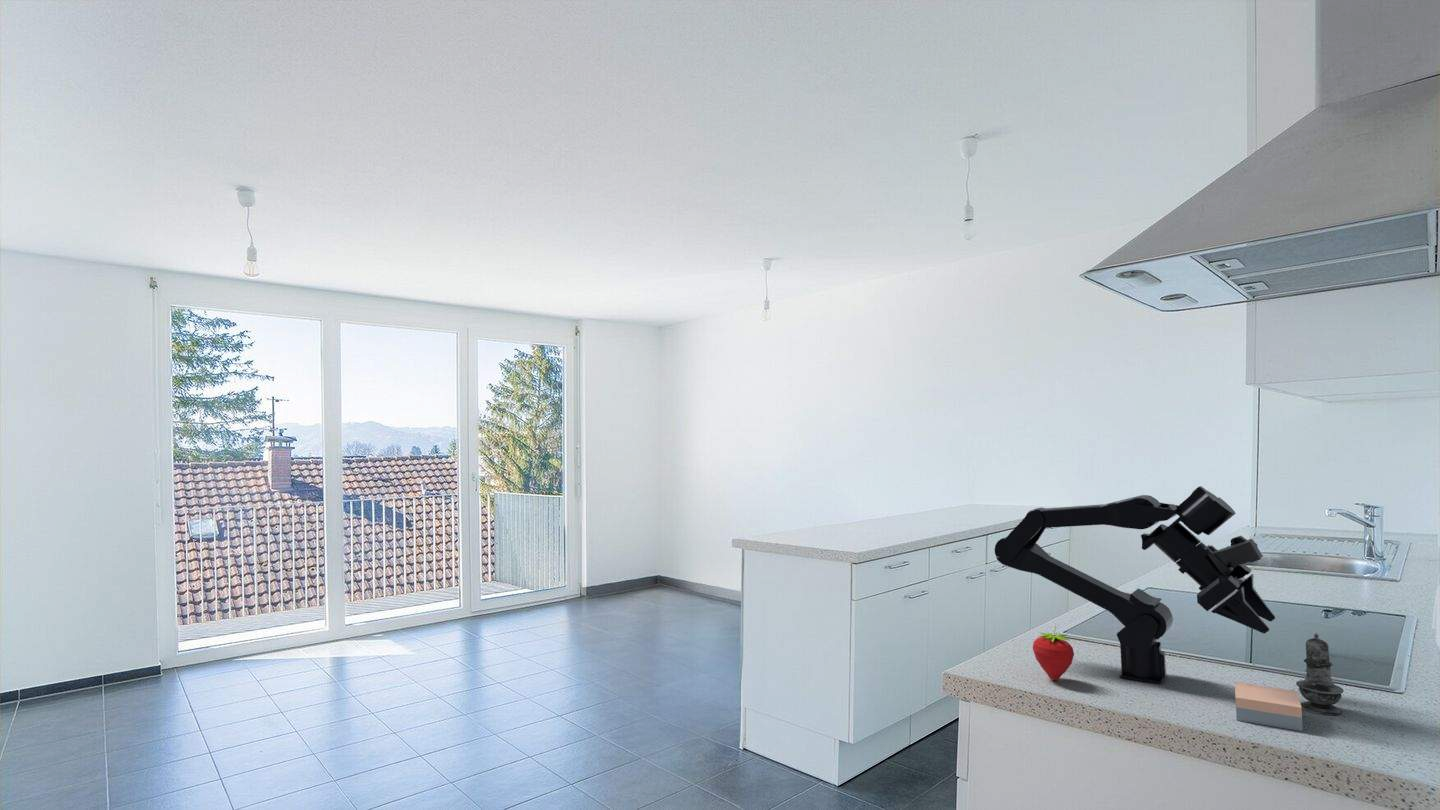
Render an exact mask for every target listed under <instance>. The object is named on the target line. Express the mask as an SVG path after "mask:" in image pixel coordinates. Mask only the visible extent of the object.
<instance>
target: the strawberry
mask: <svg viewBox="0 0 1440 810" xmlns="http://www.w3.org/2000/svg"><path fill="white" fill-rule="evenodd" d="M1056 629H1057V625H1055V627H1054V630H1053V631H1054V632H1053V633H1050V632H1047V633H1046V632H1039V634H1040V636H1038V637H1037V638H1036V639H1035V640H1033V644H1032V651H1033V655H1034V657H1035V660H1036V661H1037V662H1038V663H1039V665H1040V667H1041V668H1042V669H1043V671H1044V672H1045V674H1046V675H1047V676H1048V678H1049V679H1050V680H1051V679H1053V680H1056V681H1058V680H1059V679H1060V678H1061V677H1062V676H1063V675H1064V674H1065V673H1066V672H1067V670H1068V669H1069V668H1070V666H1071V665H1072V664H1073V659H1074V656H1075V652H1074V649H1073V646H1072V645H1071V644H1070V642H1068V641H1070V639H1069V638H1067V637H1066V636H1068V634H1062V633H1057V634H1056ZM1053 680H1052V681H1053Z"/></svg>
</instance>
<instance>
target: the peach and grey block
mask: <svg viewBox="0 0 1440 810" xmlns="http://www.w3.org/2000/svg"><path fill="white" fill-rule="evenodd" d="M1234 689H1235V691H1234V692H1235V694H1234V695H1235V697H1234V698H1235V713H1236V721H1240V722H1245V723H1250V724H1256V725H1262V726H1268V727H1273V728H1274V727H1275V728H1280V729H1286V730H1292V731H1298V732H1304V726H1303V724H1304V723H1303V711H1302V710H1303V709H1302V707H1301V703H1302V702H1301V700H1300V695H1299V692H1298V691H1299V690H1293V689H1285V688H1279V687H1273V686H1265V685H1264V686H1263V685H1259V684H1250V683H1246V682H1245V683H1244V682H1237V681H1236V682H1234Z"/></svg>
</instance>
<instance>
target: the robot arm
mask: <svg viewBox="0 0 1440 810" xmlns="http://www.w3.org/2000/svg"><path fill="white" fill-rule="evenodd" d="M1234 515H1236V512H1235V510H1234V509H1233V508H1232V507H1231V506H1230V505H1229V504H1228V503H1227V502H1226V501H1225V500H1223V498H1221V497H1218V496H1216V495H1215V494H1214V493H1212V492H1211V491H1210V490H1207V489H1206V488H1204V486H1201V485H1200V486H1198V487H1196V488H1195V489H1193V491H1192V492H1191V494H1190V495H1189V496H1188V497H1186V498H1185V499H1184V500H1183V501H1182V502H1181V503H1180V504H1174V503H1165V502H1160V501H1159V500H1158V499H1156V498H1155V497H1154V496H1152V495H1149V494H1148V495H1147V494H1141V495H1137V496H1134V497H1133V496H1132V497H1128V498H1124V499H1120V500H1117V501H1112V502H1109V503H1105V504H1089V505H1077V506H1076V505H1075V506H1073V505H1072V506H1063V507H1061V506H1060V507H1048V508H1047V507H1046V508H1045V507H1037V508H1034V509H1031V510H1029V511H1028V512H1027V513H1026V515H1025V516H1024V517H1023V519H1022V520H1021V521H1019V524H1017V525H1016V526H1015V527H1014V528H1013V529H1012V530H1011V531H1010V532H1009V534H1008V535H1007V536H1006V537H1003V538H1000V539H999V540H997V542H996V543H995V545H994V555H995V557H996V560H997V561H998V562H999V563H1000V564H1001V565H1003V566H1005V567H1008V568H1012V569H1015V570H1018V571H1022V572H1025V573H1030V574H1035V575H1038V576H1041V577H1042V578H1044V579H1046V580H1048V581H1050V582H1051V583H1054V584H1056V585H1057V586H1059V587H1061V588H1064V589H1065V590H1067V591H1069V592H1070V593H1073V594H1074V595H1077V596H1079V597H1081V598H1082V599H1085V600H1086V601H1089V602H1091V603H1092V604H1094V605H1096V606H1097V607H1100V608H1102V609H1104V610H1106V612H1107V611H1108V612H1109V613H1110V614H1112V615H1113V616H1114V617H1115V618H1116V619H1117V621H1119V622H1120V624H1122V625H1123V626H1124V627H1123V628H1121V629H1120V630H1119V631H1118V632H1117V633H1116V637H1117V639H1118V642H1119V644H1120V646H1119V647H1120V666H1121V667H1120V668H1121V671H1120V673H1119V678H1121V679H1126V680H1134V681H1140V682H1146V683H1153V684H1162V683H1163V679H1165V678H1166V675H1167V667H1166V666H1167V664H1166V663H1167V662H1166V652H1165V651H1164V650H1162V642H1161V641H1160V642H1159V641H1158V640H1159V639H1161V638H1162V637H1163V636H1164V635H1165V634H1166V633H1167V632H1168V631H1169V629H1170V628H1171V627H1172V625H1173V622H1174V618H1173V617H1174V616H1173V614H1172V612H1171V610H1170V607H1168V606H1167V605H1166V604H1164V603H1162V602H1161V601H1162V598H1161V597H1160V598H1159V597H1156V596H1152V595H1150V594H1148V593H1147V592H1145V590H1142V589H1141V588H1137V589H1135V590H1134V591H1133V592H1132V593H1129V592H1124V591H1121V590H1119V589H1117V588H1115V587H1113V586H1111V585H1109V584H1107V583H1105V582H1103V581H1102V580H1098V579H1097V578H1095V577H1093V576H1091V575H1089V574H1087V573H1085V572H1083V571H1081V570H1079V569H1077V568H1075V567H1073V566H1070V565H1068V564H1067V563H1065V562H1063V561H1061V560H1059V559H1057V558H1055V557H1052V556H1051V555H1049V554H1048V553H1047V552H1046V551H1045V549H1043V548H1042V547H1041V546H1040V544H1038V541H1039V540H1040V538H1041V537H1042V535H1043V534H1044V532H1045V530H1046V529H1047V528H1048V529H1050V528H1067V527H1069V528H1070V527H1082V526H1083V527H1085V526H1100V525H1101V526H1111V527H1118V528H1125V529H1133V530H1146V529H1149V528H1151V527H1153V526H1155V525H1157V524H1158V523H1159V522H1166V521H1168V520H1170V519H1172V518H1173V517H1176V516H1179V517H1178V518H1176V519H1175V520H1174V521H1173V522H1172V523H1171V524H1169V525H1166V524H1163V523H1161V524H1159V525H1158V526H1157V527H1156V528H1155V529H1154V530H1152V531H1151V532H1150V533H1142V534H1141V535H1140V538H1141V549H1142V550H1143V551H1146V550H1148V549H1149V548H1151V547H1152V546H1153V545H1155V546H1156V547H1157V548H1158V549H1159V550H1160V551H1161V552H1162V553H1163V554H1164V555H1166V556H1167V557H1168V558H1169V559H1170V560H1171V561H1172V562H1173V563H1174V564H1175V565H1176V566H1178V567H1179V568H1178V569H1177V570H1178V571H1179V572H1180V574H1182V575H1183V574H1187V575H1188V576H1189V577H1190V578H1191V579H1192V580H1193V581H1194V582H1195V583H1197V585H1199V587H1198V589H1199V590H1200V591H1199V592H1198V593H1197V594H1196V601H1197V602H1196V603H1198V604H1199V605H1200V606H1201V607H1202V608H1203V609H1204V610H1205V611H1206V612H1208V611H1210V610H1211V611H1210V612H1211V613H1213V614H1216V615H1219V616H1221V617H1224V618H1226V619H1229V620H1230V621H1231V620H1232V621H1233V622H1236V623H1238V624H1240V625H1243V626H1246V627H1248V628H1249V629H1252V630H1255V631H1256V632H1260V633H1261V634H1266V633H1268V632H1270V628H1269V626H1268V624H1266V623H1265V621H1263V619H1264V620H1266V621H1268V622H1272V621H1274V620H1275V619H1276V616H1275V615H1274V613H1273V612H1272V610H1271V609H1270V607H1269V606H1268V605H1267V604H1266V603H1265V601H1264V600H1263V598H1262V597H1261V596H1260V594H1259V592H1257V591H1256V589H1255V587H1254V574H1253V573H1251V572H1252V571H1253V569H1251V568H1250V567H1249V566H1248V565H1247V564H1246V563H1251V564H1252V563H1254V562H1257V561H1260V560H1261V559H1262V558H1263V553H1262V552H1261V551H1260V549H1259V547H1258V544H1257V543H1256V542H1255V541H1254V539H1252V538H1250V539H1247V538H1245V537H1243V536H1242V535H1238V536H1235V537H1232V538H1231V539H1230V546H1229V545H1228V546H1226V547H1223V548H1220V549H1217V548H1216V547H1214V546H1213V545H1212V544H1211V545H1210V544H1208V545H1206V544H1205V543H1204V542H1202V541H1201V540H1200V539H1199V538H1198V537H1197V536H1200V535H1201V534H1204V535H1206V536H1210V535H1211V534H1213V533H1214V532H1215V531H1216V530H1218V529H1219V528H1220V527H1221V526H1223V525H1224V524H1225V523H1226V522H1227V521H1229V520H1230V519H1231V518H1232V517H1234ZM1180 522H1181V523H1180ZM1182 523H1183V524H1182ZM1193 533H1194V534H1196V535H1197V536H1196V535H1194V534H1193ZM1250 573H1251V574H1250ZM1249 574H1250V575H1249ZM1248 575H1249V576H1248ZM1246 576H1248V577H1246Z"/></svg>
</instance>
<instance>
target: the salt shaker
mask: <svg viewBox="0 0 1440 810" xmlns="http://www.w3.org/2000/svg"><path fill="white" fill-rule="evenodd" d="M1313 636H1314V637H1313V638H1309V639H1307V640H1306V641H1305V650H1306V651H1305V654H1306V656H1305V657H1306V658H1305V659H1303V662H1304V663H1305V665H1306V676H1305V679H1303V680H1297V681H1296V682H1295V685H1296V686H1297V687H1298V691H1299V693H1300V695H1301V696H1302V697H1303V699H1305V700H1306V701H1303V702H1300V703H1301V707H1302V710H1304V711H1307V712H1310V713H1312V714H1316V715H1321V716H1322V715H1323V716H1331V717H1338V716H1342V715H1343V710H1341V709H1340V708H1339V707H1337V706H1335V705H1336V704H1338V703H1339V702H1340V700H1341V698H1342V694H1343V693H1344V692H1345V690H1344V689H1343V688H1342V687H1341V686H1339V685H1337V684H1335V683H1334V682H1333V679H1332V673H1331V667H1333V665H1334V664H1333V663H1332V662H1330V651H1329V650H1330V648H1329V644H1328V643H1327V642H1326V641H1324V640H1322V639H1321V638H1319V637H1320V635H1319V634H1318V633H1315V634H1314V635H1313Z"/></svg>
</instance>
